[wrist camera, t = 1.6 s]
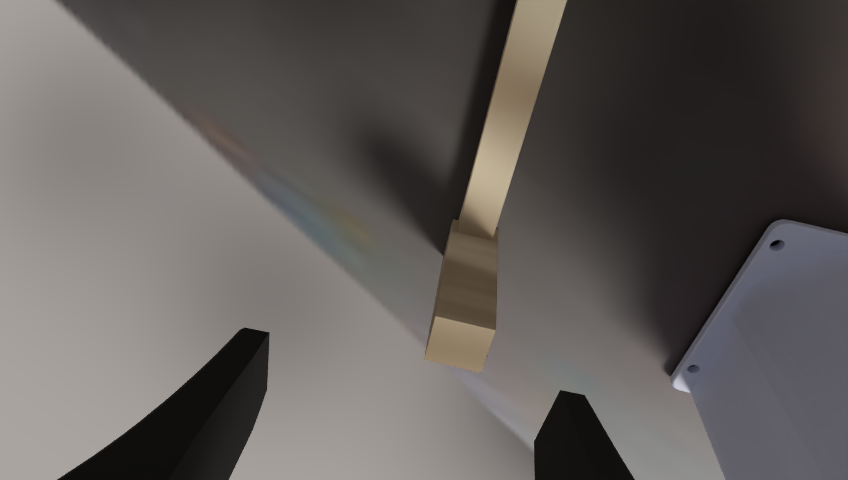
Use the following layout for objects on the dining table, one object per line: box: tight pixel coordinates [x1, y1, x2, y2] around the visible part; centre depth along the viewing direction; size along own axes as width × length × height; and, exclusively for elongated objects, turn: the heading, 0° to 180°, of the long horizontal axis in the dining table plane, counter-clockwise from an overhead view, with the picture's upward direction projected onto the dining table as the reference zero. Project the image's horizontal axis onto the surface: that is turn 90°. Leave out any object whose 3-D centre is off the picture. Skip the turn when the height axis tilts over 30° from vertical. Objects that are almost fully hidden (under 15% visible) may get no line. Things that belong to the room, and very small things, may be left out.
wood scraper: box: [424, 0, 567, 373], centre depth 17 cm, size 14×6×6 cm, turn 169°
